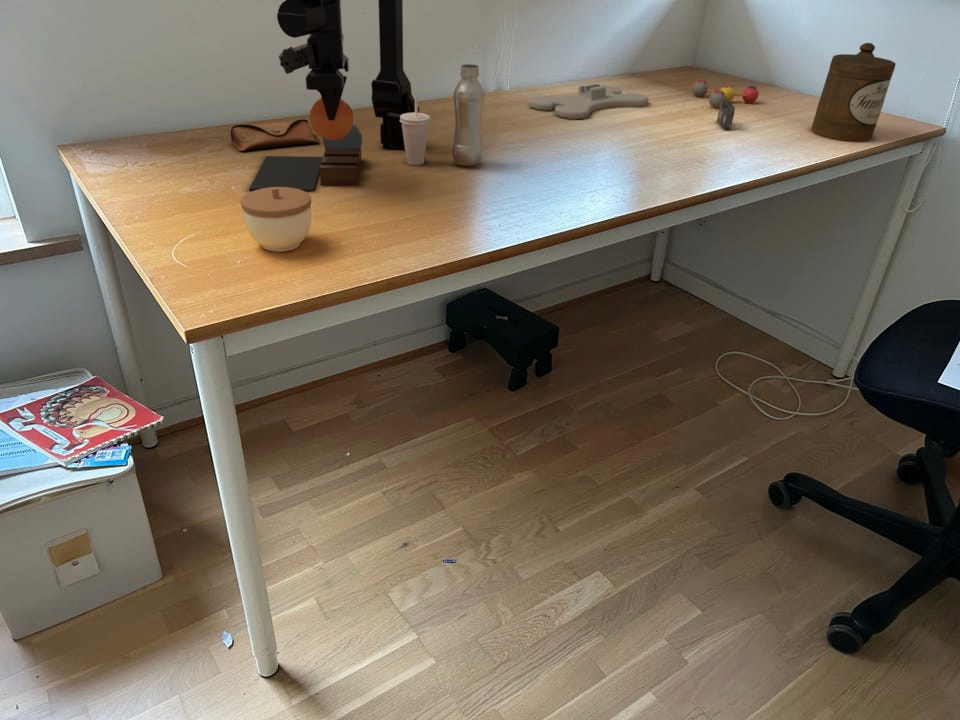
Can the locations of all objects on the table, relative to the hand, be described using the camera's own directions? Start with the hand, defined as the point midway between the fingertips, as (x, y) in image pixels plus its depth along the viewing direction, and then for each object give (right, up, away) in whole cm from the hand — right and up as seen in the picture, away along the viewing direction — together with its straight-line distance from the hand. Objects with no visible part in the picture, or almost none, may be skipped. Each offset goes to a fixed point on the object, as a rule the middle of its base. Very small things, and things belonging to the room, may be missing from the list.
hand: (331, 118), depth 139 cm
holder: (+59, +26, +67) cm, 93 cm away
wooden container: (+122, +13, +52) cm, 134 cm away
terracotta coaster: (0, 0, 0) cm, 0 cm away
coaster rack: (0, -7, +11) cm, 13 cm away
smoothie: (+14, -4, +18) cm, 23 cm away
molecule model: (+101, +30, +77) cm, 130 cm away
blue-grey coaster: (0, 0, +13) cm, 13 cm away
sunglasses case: (-18, +3, +26) cm, 31 cm away
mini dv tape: (+92, +16, +54) cm, 108 cm away
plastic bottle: (+25, -4, +18) cm, 32 cm away
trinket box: (-4, -27, -20) cm, 34 cm away
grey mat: (-10, -8, +9) cm, 16 cm away
